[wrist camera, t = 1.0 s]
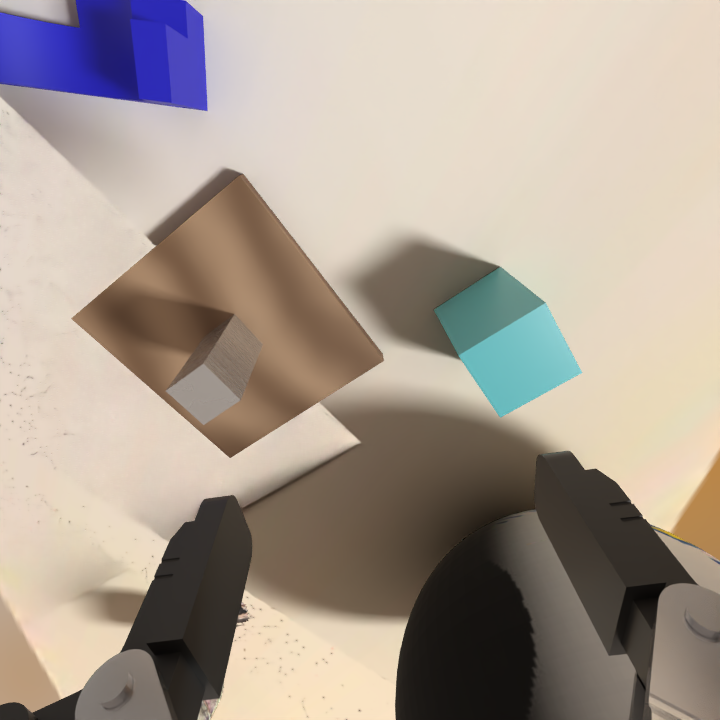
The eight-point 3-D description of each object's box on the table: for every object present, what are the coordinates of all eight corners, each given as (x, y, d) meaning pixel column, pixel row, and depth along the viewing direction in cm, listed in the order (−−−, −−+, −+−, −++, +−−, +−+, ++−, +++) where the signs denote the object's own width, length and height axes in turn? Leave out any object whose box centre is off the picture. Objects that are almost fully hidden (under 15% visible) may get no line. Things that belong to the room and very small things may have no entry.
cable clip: (203, 17, 23) (161, -21, 18) (208, 111, 25) (171, 103, 20) (-29, -18, 22) (-148, -69, 17) (-4, 83, 24) (-103, 66, 19)
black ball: (675, 585, 48) (1076, 1121, 22) (434, 651, 53) (523, 1157, 27) (650, 387, 35) (1579, 1129, 9) (332, 499, 40) (312, 1198, 14)
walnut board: (243, 174, 26) (239, 175, 25) (382, 353, 33) (383, 360, 32) (80, 312, 30) (71, 318, 29) (233, 448, 37) (230, 458, 36)
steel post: (234, 313, 30) (203, 363, 23) (262, 344, 31) (240, 400, 24) (204, 336, 30) (165, 391, 24) (233, 365, 32) (203, 425, 25)
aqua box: (500, 266, 30) (545, 302, 23) (532, 324, 32) (582, 372, 25) (433, 309, 31) (458, 355, 25) (468, 362, 34) (500, 417, 27)
